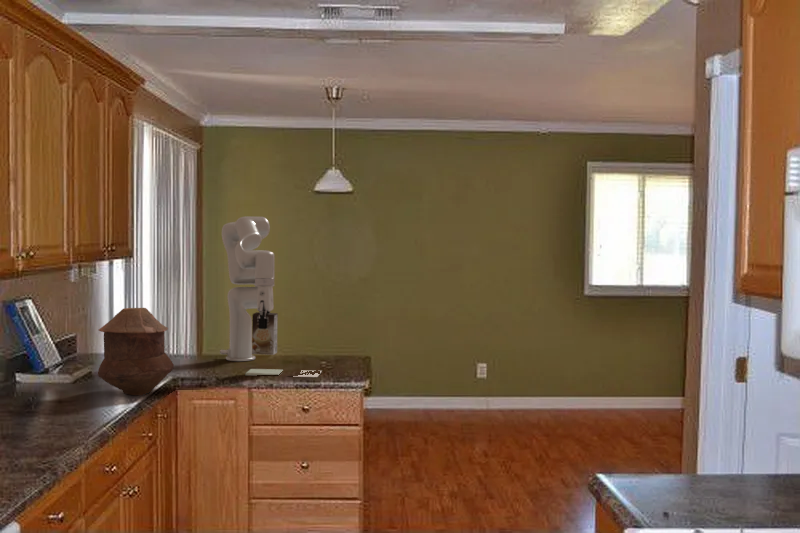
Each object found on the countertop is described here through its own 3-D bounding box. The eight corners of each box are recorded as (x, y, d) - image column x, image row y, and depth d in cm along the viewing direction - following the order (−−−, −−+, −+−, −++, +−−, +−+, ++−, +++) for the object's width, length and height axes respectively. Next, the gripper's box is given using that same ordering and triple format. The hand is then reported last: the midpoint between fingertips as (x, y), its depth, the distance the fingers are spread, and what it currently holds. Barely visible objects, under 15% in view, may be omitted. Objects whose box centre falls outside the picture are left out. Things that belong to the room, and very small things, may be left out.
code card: (286, 376, 342) (286, 376, 342) (292, 370, 356) (292, 370, 356) (317, 377, 342) (317, 376, 342) (322, 371, 356) (322, 370, 356)
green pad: (245, 375, 344) (245, 373, 344) (250, 370, 354) (250, 368, 354) (278, 375, 343) (278, 373, 343) (282, 371, 353) (282, 369, 353)
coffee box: (251, 354, 345) (251, 313, 345) (255, 352, 352) (255, 312, 351) (274, 355, 345) (274, 314, 344) (277, 352, 351) (278, 312, 350)
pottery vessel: (134, 403, 290) (133, 313, 288) (80, 395, 302) (80, 308, 301) (188, 390, 312) (188, 306, 311) (136, 383, 325) (136, 302, 323)
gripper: (270, 284, 338) (269, 330, 339) (278, 281, 355) (278, 325, 356) (250, 284, 338) (250, 330, 339) (259, 281, 356) (259, 324, 357)
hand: (264, 327), depth 348 cm, fingers closed on coffee box, 6 cm apart
